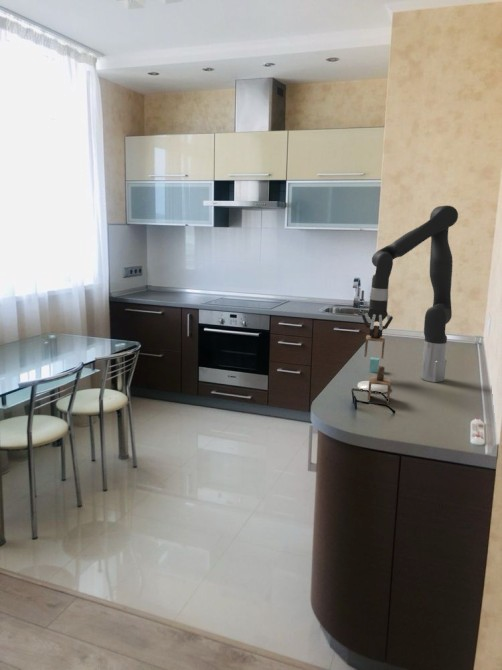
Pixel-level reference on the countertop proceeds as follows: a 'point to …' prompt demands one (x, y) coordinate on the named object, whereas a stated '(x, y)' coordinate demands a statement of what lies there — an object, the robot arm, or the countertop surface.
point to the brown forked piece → (375, 339)
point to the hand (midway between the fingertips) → (375, 337)
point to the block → (374, 364)
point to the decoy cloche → (380, 381)
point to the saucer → (372, 386)
